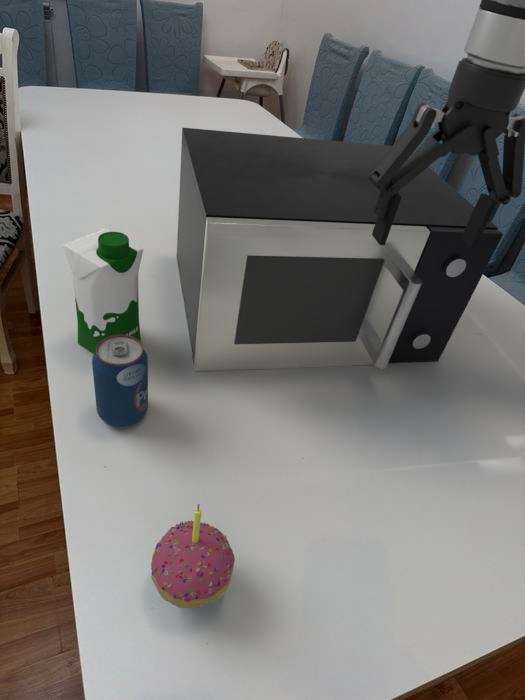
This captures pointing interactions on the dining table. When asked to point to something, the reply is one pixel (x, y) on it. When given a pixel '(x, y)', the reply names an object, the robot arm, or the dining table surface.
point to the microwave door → (303, 293)
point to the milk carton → (105, 286)
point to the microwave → (329, 217)
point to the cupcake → (192, 564)
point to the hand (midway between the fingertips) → (424, 241)
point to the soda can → (120, 380)
